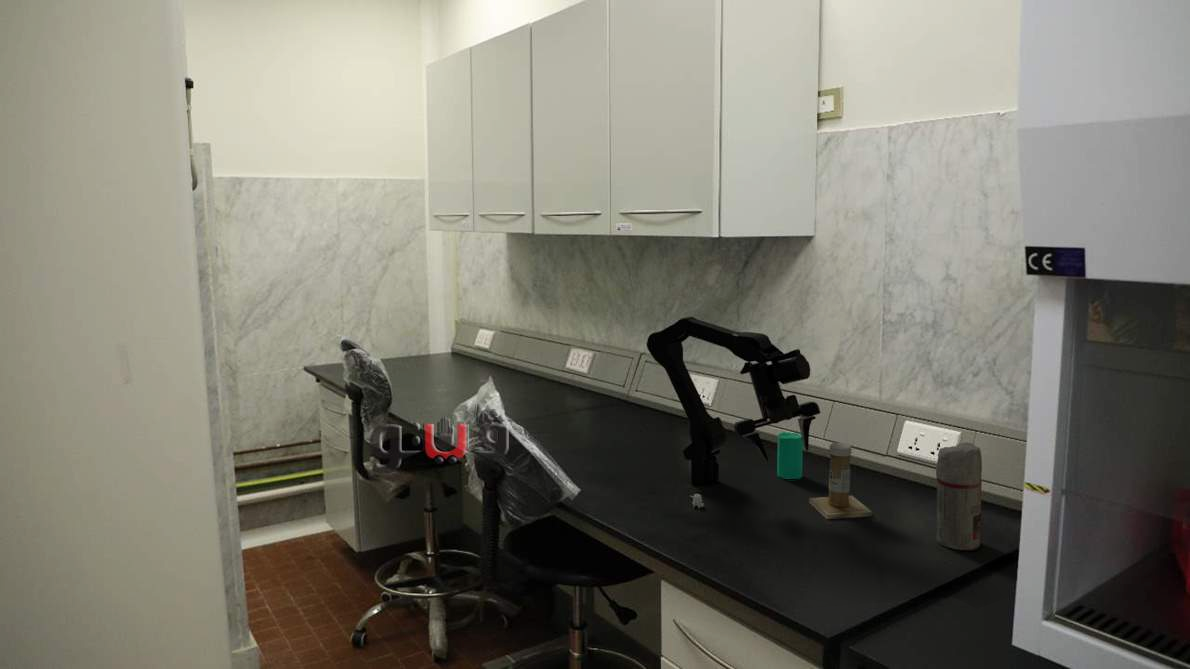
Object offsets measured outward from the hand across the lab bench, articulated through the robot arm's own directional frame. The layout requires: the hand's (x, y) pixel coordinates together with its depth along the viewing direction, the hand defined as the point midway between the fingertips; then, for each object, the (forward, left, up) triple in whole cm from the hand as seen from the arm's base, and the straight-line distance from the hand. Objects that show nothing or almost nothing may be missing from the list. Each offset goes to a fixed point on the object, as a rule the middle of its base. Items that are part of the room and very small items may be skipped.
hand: (787, 455), depth 181 cm
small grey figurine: (-22, -1, -11) cm, 24 cm away
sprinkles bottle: (+9, -7, -10) cm, 15 cm away
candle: (+7, +16, -11) cm, 21 cm away
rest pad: (+10, -7, -11) cm, 16 cm away
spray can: (+25, -28, -11) cm, 39 cm away
